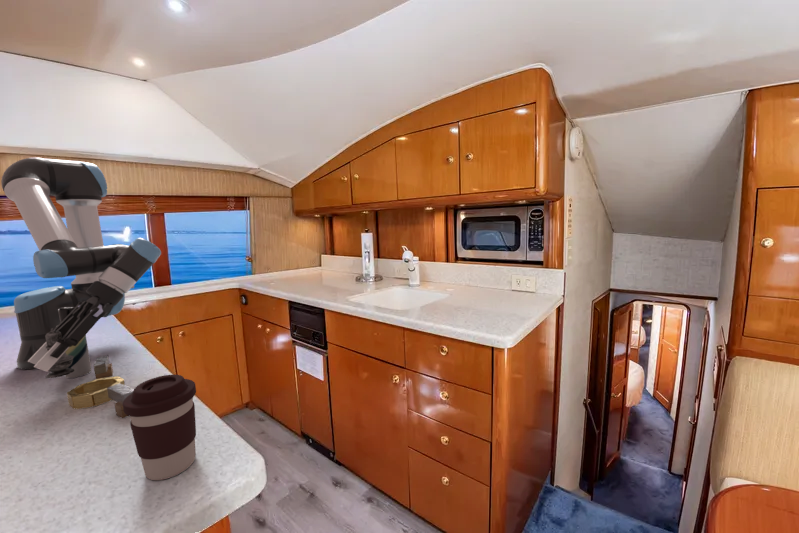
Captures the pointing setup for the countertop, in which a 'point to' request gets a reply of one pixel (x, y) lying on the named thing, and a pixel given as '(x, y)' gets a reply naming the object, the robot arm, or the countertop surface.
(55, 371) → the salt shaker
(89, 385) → the brass collar
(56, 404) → the countertop surface
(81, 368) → the lotion bottle
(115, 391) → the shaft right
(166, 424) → the coffee cup
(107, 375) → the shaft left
